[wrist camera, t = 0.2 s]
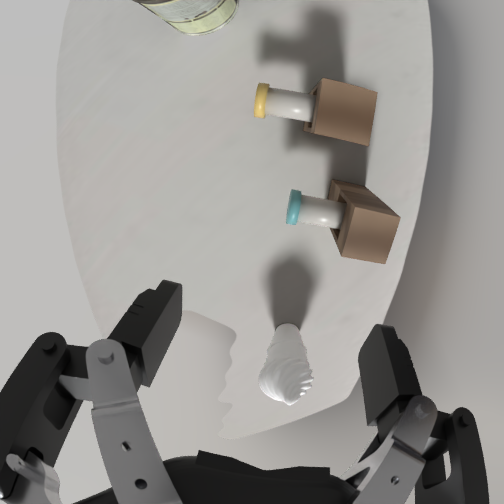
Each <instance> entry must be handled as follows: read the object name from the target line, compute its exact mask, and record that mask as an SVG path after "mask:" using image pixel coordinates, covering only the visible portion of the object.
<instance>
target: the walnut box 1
mask: <svg viewBox="0 0 504 504" xmlns="http://www.w3.org/2000/svg"><path fill="white" fill-rule="evenodd" d="M309 94H311V95H316V103H315V109H314V116H313V122H307V121H304V128H303V131H306V132H310V133H314V134H319V135H324V136H328V137H333V138H337V139H341V140H346V141H350V142H354V143H358V144H361V145H365V146H369V141H370V136H371V130H372V125H373V119H374V112H375V106H376V99H377V92H375V91H371V90H368V89H365V88H361V87H358V86H354V85H351V84H347V83H343V82H339V81H335V80H330V79H326V78H322V79H321V80H320V81H319V83H318V84H317V85H316V86H315V87H314V88H313V90H312V91H311V92H310V93H309Z"/></svg>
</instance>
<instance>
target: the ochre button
mask: <svg viewBox="0 0 504 504" xmlns="http://www.w3.org/2000/svg"><path fill="white" fill-rule="evenodd" d="M315 103H316V95H311V94H306V93H301V92H295V91H289V90H282V89H275V88H269V84H265V83H259V84H258V87H257V91H256V97H255V106H254V117H258V118H265V115H271V116H278V117H284V118H290V119H296V120H302V121H307V122H313V116H314V109H315Z"/></svg>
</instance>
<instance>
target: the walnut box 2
mask: <svg viewBox="0 0 504 504" xmlns="http://www.w3.org/2000/svg"><path fill="white" fill-rule="evenodd" d="M327 200H331V201H336V202H341V203H346V204H347V206H346V210H345V214H344V218H343V222H342V226H341V230H340V229H335V228H330V230H331V232H332V234H333V237H334V239H335V242H336V244H337V247H338V249H339V252H340V254H341V257H347V258H352V259H358V260H364V261H370V262H375V263H381V264H385V263H386V260H387V258H388V255H389V252H390V249H391V246H392V243H393V240H394V237H395V234H396V231H397V228H398V225H399V221H400V218H401V217H399V216H398V215H397V214H396V213H395V212H394V211H393V210H392V209H391V208H389V207H388V206H387V205H386V204H385V203H384V202H383V201H381V200H380V199H379V198H378V197H377V196H376V195H374V194H373V193H372V192H371V191H370V190H369V189H367V188H366V187H364V186H360V185H355V184H351V183H347V182H342V181H338V180H333V179H332V181H331V185H330V190H329V195H328V199H327Z"/></svg>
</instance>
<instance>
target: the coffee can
mask: <svg viewBox="0 0 504 504" xmlns="http://www.w3.org/2000/svg"><path fill="white" fill-rule="evenodd" d="M133 1H135V2H138V3H139V4H141V5H142V6H144V7H145V8H147V9H148V10H150V11H151V12H153V13H154V14H156V15H157V16H159V17H160V18H162V19H163V20H164V21H166V22H167V23H168V24H170V25H171V26H173V27H174V28H175V29H176V30H177V31H179V32H181V33H183V34H187V35H204V34H209V33H212V32H214V31H216V30H218V29H220V28H222V27H223V26H225V25H226V24H227V23H228V22H229V21H230V20H231V19H232V18H233V17H234V15H235V13H236V11H237V9H238V0H133Z"/></svg>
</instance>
